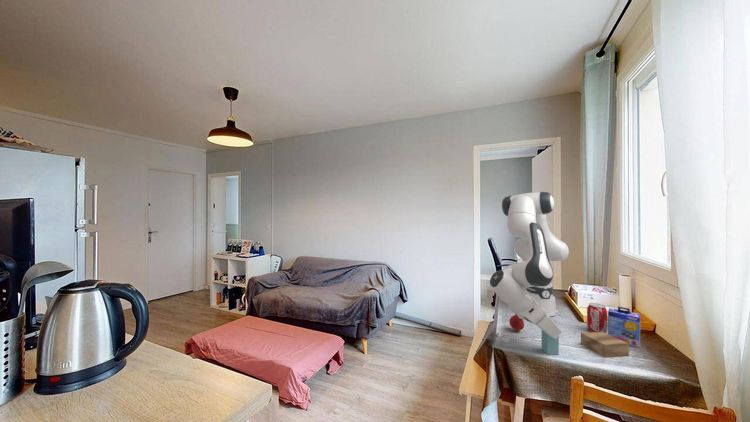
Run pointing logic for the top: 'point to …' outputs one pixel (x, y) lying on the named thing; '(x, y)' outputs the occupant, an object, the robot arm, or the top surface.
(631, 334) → the ink cartridge box
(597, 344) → the walnut block
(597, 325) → the soda can
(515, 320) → the onion
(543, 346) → the teal block
